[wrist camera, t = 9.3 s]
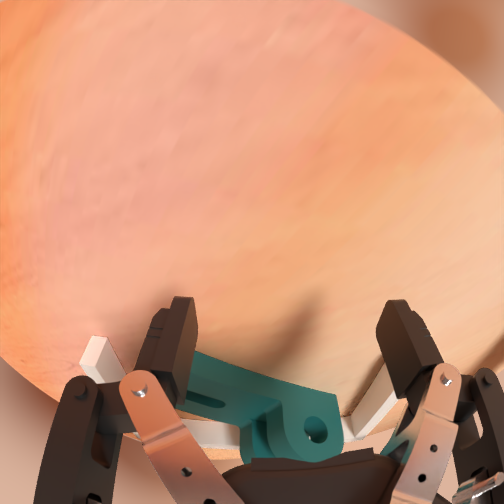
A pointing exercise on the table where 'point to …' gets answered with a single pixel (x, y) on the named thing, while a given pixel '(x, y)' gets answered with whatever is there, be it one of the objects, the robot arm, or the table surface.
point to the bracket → (265, 411)
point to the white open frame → (228, 436)
